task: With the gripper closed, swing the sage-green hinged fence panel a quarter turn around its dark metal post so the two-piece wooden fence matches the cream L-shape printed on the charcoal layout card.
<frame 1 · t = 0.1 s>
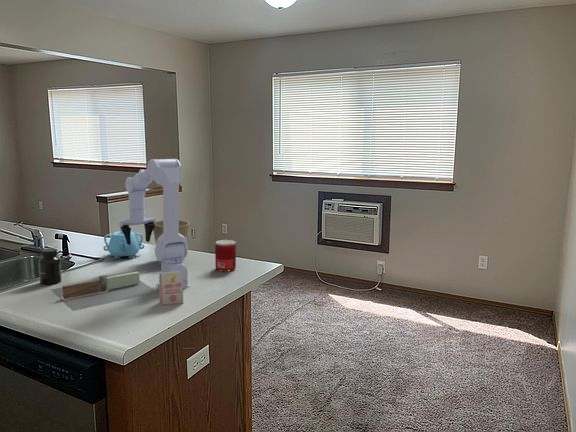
hand: (138, 242, 180), 10 cm above the worktop, fingers open, 7 cm apart
pink white carton: (171, 303, 145), on the worktop
canned food: (225, 269, 182), on the worktop
plant pot: (171, 260, 193), on the worktop
sage fence panel: (123, 280, 157), point 3 cm above the worktop, hinge at 0.0°
supplement bottle: (51, 283, 161), on the worktop
layout card: (104, 291, 154), on the worktop
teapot: (124, 256, 198), on the worktop
walnut fence section: (103, 290, 153), resting on layout card
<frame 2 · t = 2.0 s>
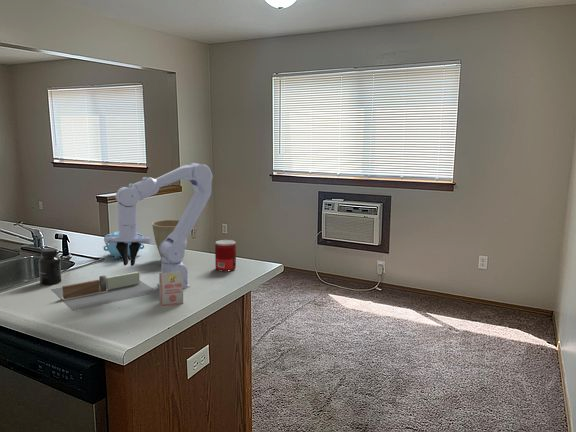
hand: (129, 264, 152), 9 cm above the worktop, fingers closed
nothing on the worktop moved.
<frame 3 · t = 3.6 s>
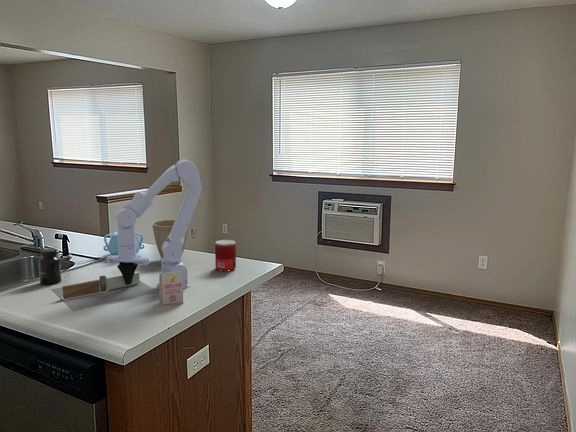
hand: (128, 283, 156), 2 cm above the worktop, fingers closed
sage fence panel: (123, 280, 157), point 3 cm above the worktop, hinge at 0.0°, touching gripper
everything else where it was.
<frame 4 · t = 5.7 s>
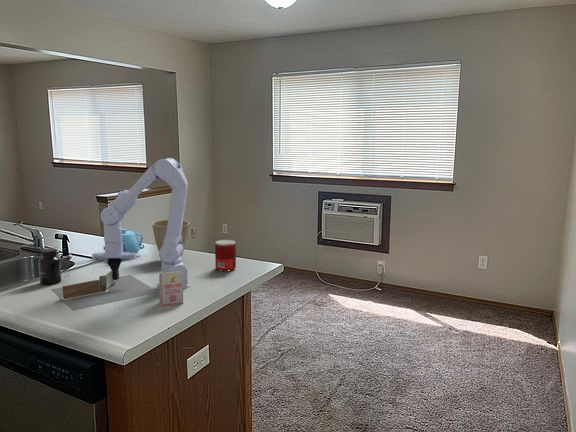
hand: (115, 279, 161), 2 cm above the worktop, fingers closed, pressing on sage fence panel
sage fence panel: (111, 278, 160), point 3 cm above the worktop, hinge at 48.4°, touching gripper
everything else where it was.
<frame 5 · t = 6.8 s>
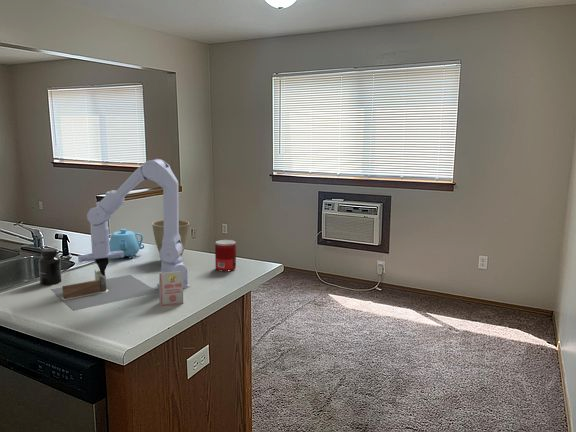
hand: (102, 279, 160), 2 cm above the worktop, fingers closed, pressing on sage fence panel
sage fence panel: (99, 278, 159), point 3 cm above the worktop, hinge at 80.2°, touching gripper
everything else where it was.
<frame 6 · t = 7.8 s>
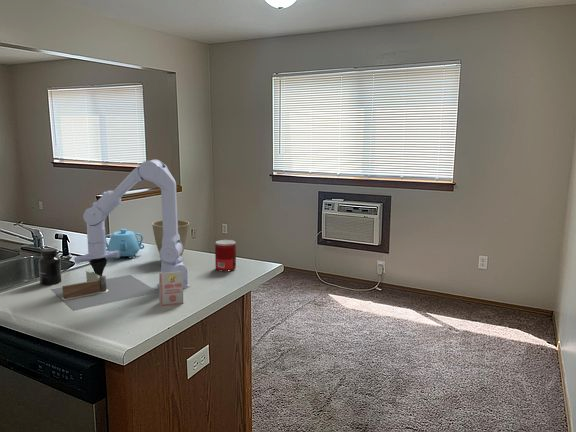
hand: (98, 279, 160), 2 cm above the worktop, fingers closed
sage fence panel: (94, 279, 158), point 3 cm above the worktop, hinge at 93.9°, touching gripper
everything else where it was.
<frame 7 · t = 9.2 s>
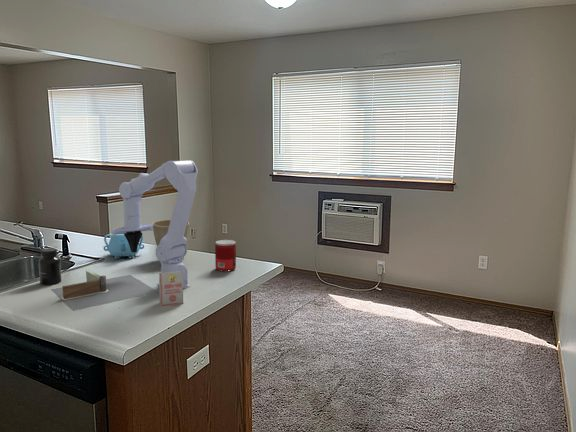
hand: (133, 251, 169), 9 cm above the worktop, fingers closed
sage fence panel: (94, 279, 158), point 3 cm above the worktop, hinge at 94.0°
everything else where it was.
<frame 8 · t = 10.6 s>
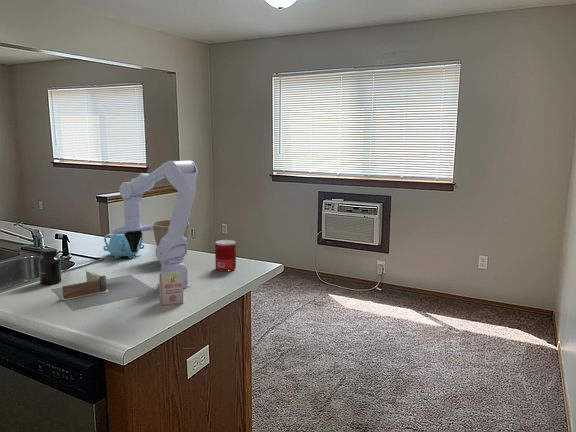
hand: (133, 251, 169), 9 cm above the worktop, fingers closed
nothing on the worktop moved.
at the end: sage fence panel at +94° (first picture: +0°); supplement bottle moved 0.2 cm from its start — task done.
